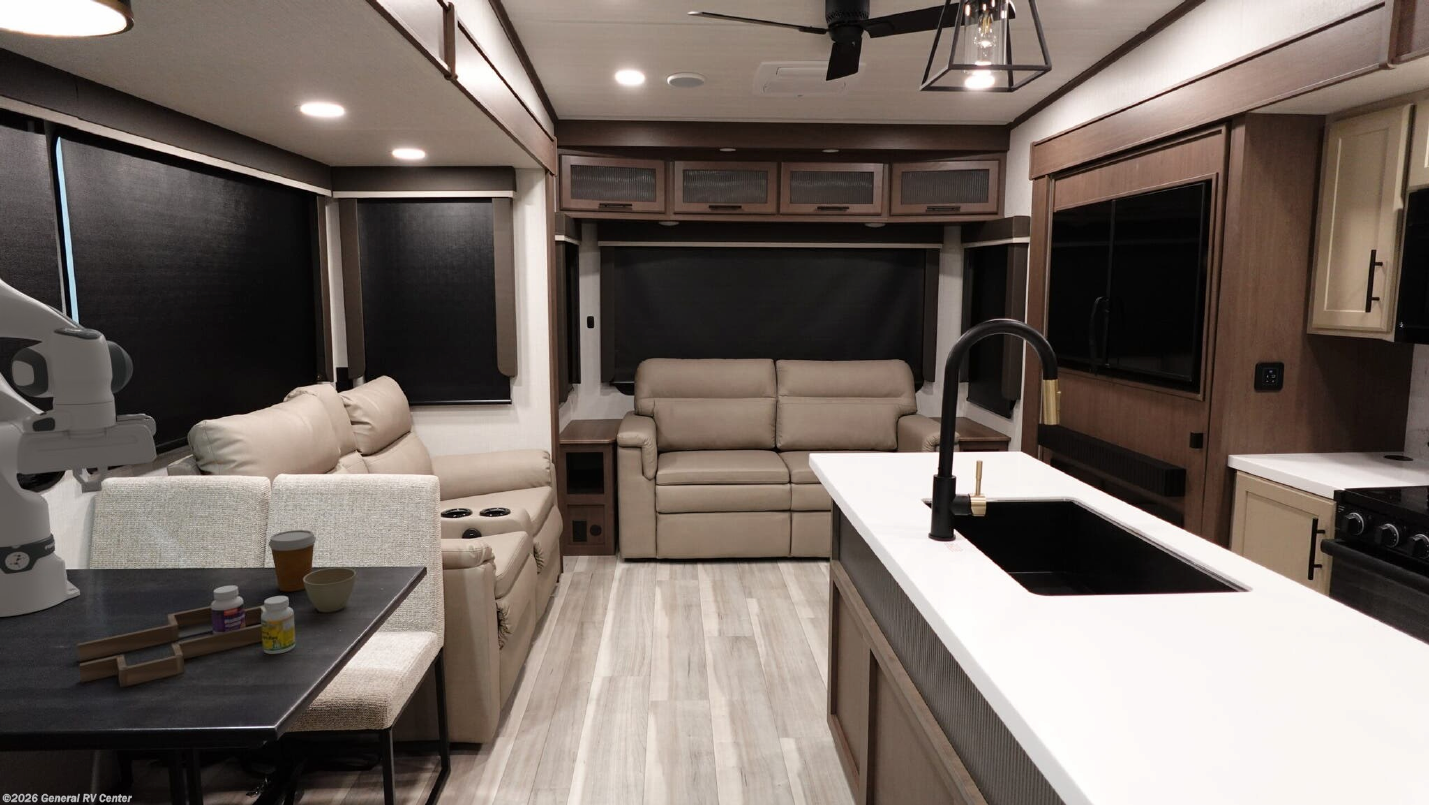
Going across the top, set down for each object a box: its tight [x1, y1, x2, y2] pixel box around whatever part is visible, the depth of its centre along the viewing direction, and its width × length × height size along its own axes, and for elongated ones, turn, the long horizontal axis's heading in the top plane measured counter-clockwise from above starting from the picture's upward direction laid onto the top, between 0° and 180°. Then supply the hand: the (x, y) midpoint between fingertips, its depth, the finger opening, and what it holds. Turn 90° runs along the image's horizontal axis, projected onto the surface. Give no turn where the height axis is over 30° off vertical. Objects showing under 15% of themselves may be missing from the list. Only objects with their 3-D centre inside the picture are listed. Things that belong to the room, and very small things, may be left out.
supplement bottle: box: [260, 595, 296, 655], centre depth 149 cm, size 5×5×10 cm
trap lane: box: [77, 605, 266, 688], centre depth 149 cm, size 23×30×3 cm
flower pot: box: [303, 567, 357, 613], centre depth 169 cm, size 10×10×7 cm
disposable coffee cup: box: [267, 529, 317, 592], centre depth 180 cm, size 10×10×12 cm
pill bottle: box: [210, 585, 247, 635], centre depth 153 cm, size 5×5×10 cm
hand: (91, 491), depth 147 cm, fingers closed
